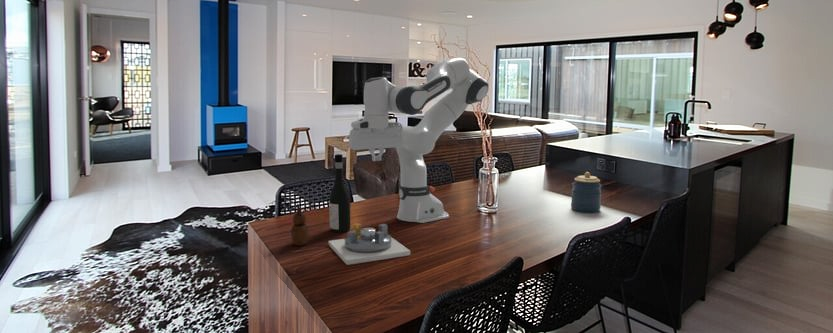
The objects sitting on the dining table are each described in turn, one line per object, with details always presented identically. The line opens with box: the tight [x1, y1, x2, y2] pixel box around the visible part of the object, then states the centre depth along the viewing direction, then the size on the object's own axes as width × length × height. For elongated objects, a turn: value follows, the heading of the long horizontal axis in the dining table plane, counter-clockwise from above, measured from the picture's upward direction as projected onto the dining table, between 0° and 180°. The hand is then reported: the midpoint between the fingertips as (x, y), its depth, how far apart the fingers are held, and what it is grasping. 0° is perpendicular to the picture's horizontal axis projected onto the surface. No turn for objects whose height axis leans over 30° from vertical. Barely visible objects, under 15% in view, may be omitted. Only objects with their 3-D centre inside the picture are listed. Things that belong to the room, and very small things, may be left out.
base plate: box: [328, 236, 411, 266], centre depth 171 cm, size 22×22×2 cm
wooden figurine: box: [290, 202, 309, 247], centre depth 176 cm, size 7×6×15 cm
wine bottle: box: [328, 153, 351, 233], centre depth 192 cm, size 8×8×30 cm
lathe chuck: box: [344, 222, 392, 253], centre depth 170 cm, size 16×16×6 cm
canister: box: [570, 171, 603, 214], centre depth 226 cm, size 13×13×18 cm
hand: (376, 160), depth 180 cm, fingers closed
